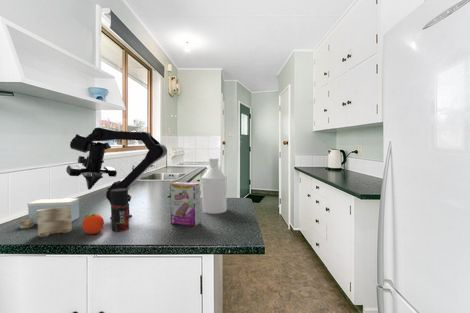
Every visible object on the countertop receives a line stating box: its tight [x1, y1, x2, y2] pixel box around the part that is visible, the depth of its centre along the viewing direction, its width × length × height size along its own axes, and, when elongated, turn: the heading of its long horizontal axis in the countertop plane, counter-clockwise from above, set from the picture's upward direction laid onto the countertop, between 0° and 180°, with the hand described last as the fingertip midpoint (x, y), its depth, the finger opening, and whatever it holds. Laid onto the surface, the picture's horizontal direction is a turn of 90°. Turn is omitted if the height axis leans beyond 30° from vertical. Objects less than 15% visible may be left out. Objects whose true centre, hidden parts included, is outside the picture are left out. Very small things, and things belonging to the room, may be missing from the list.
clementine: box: [81, 213, 105, 235], centre depth 91 cm, size 8×7×7 cm
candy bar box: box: [169, 181, 201, 227], centre depth 101 cm, size 11×5×16 cm, turn 71°
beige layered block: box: [37, 206, 73, 238], centre depth 92 cm, size 10×5×9 cm, turn 126°
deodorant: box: [110, 188, 130, 233], centre depth 95 cm, size 6×6×15 cm
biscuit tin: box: [27, 197, 80, 225], centre depth 107 cm, size 16×7×9 cm, turn 96°
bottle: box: [201, 157, 228, 215], centre depth 120 cm, size 12×12×25 cm
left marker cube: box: [19, 217, 35, 229], centre depth 99 cm, size 3×3×3 cm
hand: (89, 189), depth 111 cm, fingers closed
